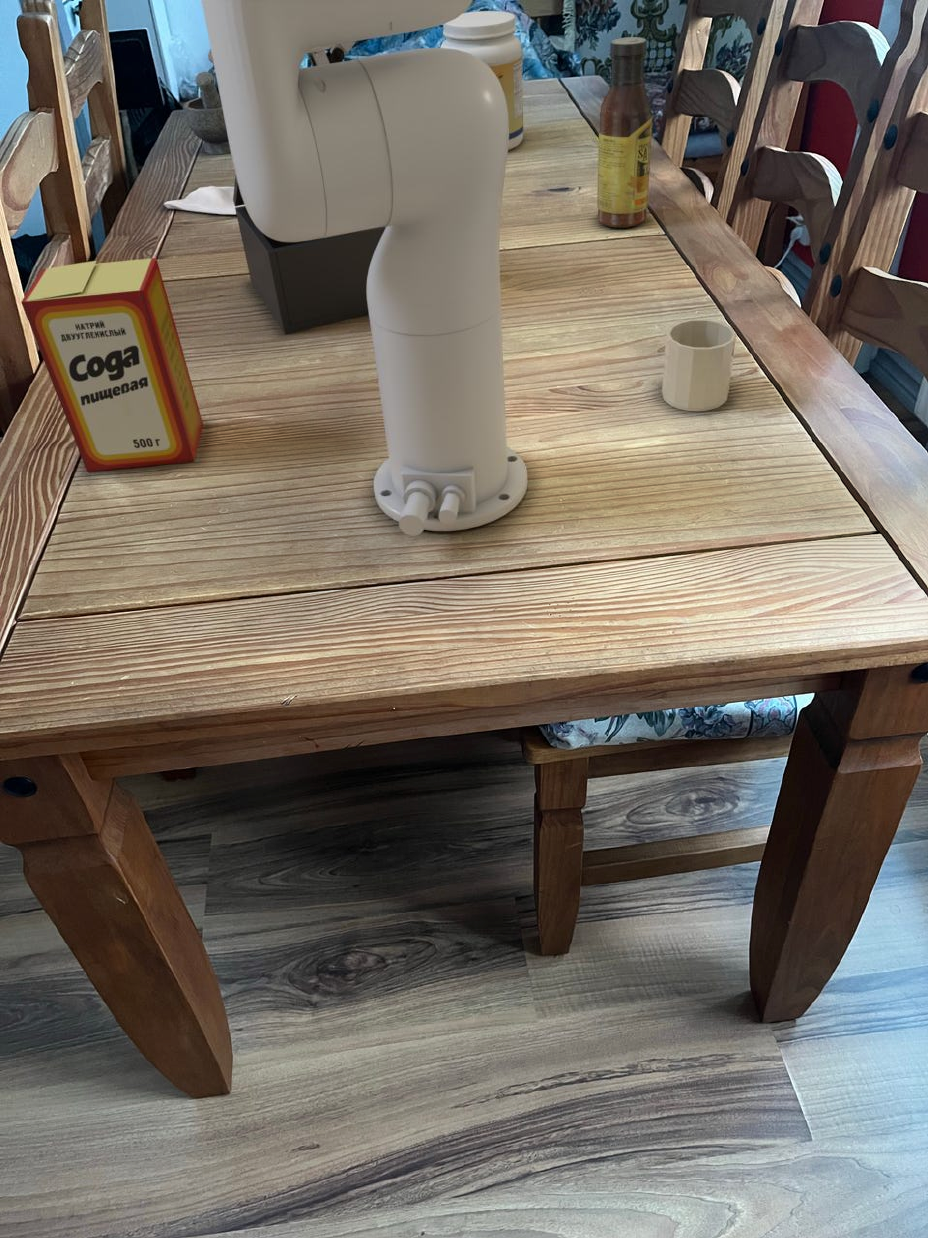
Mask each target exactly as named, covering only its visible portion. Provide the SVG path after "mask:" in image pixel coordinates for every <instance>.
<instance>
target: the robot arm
mask: <svg viewBox="0 0 928 1238" xmlns="http://www.w3.org/2000/svg"><path fill="white" fill-rule="evenodd" d="M473 1H474V0H201V5H202V10H203V15H204V20H205V25H206V30H207V31H206V32H207V35H208V42H209V47H210V49H209V51H208V55H207V57H208V58H207V59H208V61H210V63H212V64H213V67H214V72H215V77H216V82H217V88H218V94H220V98H221V103H222V108H223V114H224V119H225V124H226V129H227V135H228V140H229V145H230V150H231V153H230V154H231V159H232V164H233V169H234V173H235V175H236V178H237V182H238V185H239V189H240V192H241V196H242V198H243V201H244V204H245V207H246V209H247V212H248V214H249V216H250V218H251V219H252V221H253V222H254V224H255V225H256V227H257V228H258V229H259V230H260V231H261V232H262V233H263V234H265V235H266V236H268V237H270V238H272V239H274V240H277V241H281V242H301V241H308V240H314V239H319V238H326V237H332V236H337V235H342V234H347V233H352V232H357V231H362V230H367V229H372V228H377V227H386V228H385V230H384V233H383V235H382V237H381V238H380V241H379V243H378V245H377V247H376V250H375V252H374V255H373V258H372V261H371V263H370V267H369V272H368V277H367V288H366V292H367V304H368V311H369V314H368V317H369V318H368V319H369V325H370V333H371V339H372V346H373V353H374V362H375V369H376V375H377V382H378V383H377V384H378V389H379V396H380V404H381V413H382V418H383V425H384V432H385V439H386V446H387V454H388V458H386V459H385V460H384V461H383V462H382V463H381V465H379V467H378V469H377V470H376V472H375V475H374V477H373V491H374V497H375V501H376V503H377V505H378V507H379V508H380V510H382V512H383V513H384V514H385V515H386V516H388V517H389V518H391V519H392V520H394V521H395V522H398V528H399V530H400V531H401V533H403V534H405V535H407V536H409V537H410V536H411V537H415V536H419V535H421V534H422V533H423V532H424V530H425V531H430V532H431V531H432V532H454V531H464V530H469V529H472V528H473V529H474V528H477V527H481V526H483V525H487V524H490V523H492V522H495V521H497V520H498V519H500V518H502V517H504V516H505V515H507V514H508V513H510V512H511V511H512V510H514V509H515V508H516V507H517V506H518V505H519V504H520V502H521V501H522V500H523V498H524V496H525V495H526V493H527V489H528V470H527V469H528V468H527V467H526V463H525V461H524V460H523V459H522V458H521V456H520V455H519V454H518V453H517V452H515V451H514V450H513V449H512V448H510V447H508V442H507V440H508V439H507V416H506V397H505V396H506V393H505V373H504V372H505V371H504V349H503V326H502V325H503V324H502V293H501V270H500V269H501V268H500V267H501V266H500V265H501V263H500V261H501V260H500V259H501V258H500V257H501V256H500V255H501V254H500V244H501V243H500V241H501V239H500V238H501V236H500V233H501V215H502V202H503V195H504V194H503V192H504V186H505V178H506V170H507V162H508V155H509V154H508V153H509V150H508V143H509V118H508V109H507V103H506V99H505V95H504V92H503V89H502V87H501V84H500V82H499V80H498V78H497V77H496V75H495V74H494V72H493V71H492V70H491V68H490V67H489V66H488V65H487V64H485V63H484V62H483V61H481V60H480V59H479V58H477V57H475V56H473V55H471V54H469V53H466V52H463V51H460V50H456V49H447V48H440V47H426V48H415V49H408V50H402V51H395V52H388V53H382V54H376V55H370V56H369V55H368V56H363V57H357V58H353V59H351V60H345V56H346V55H347V54H348V53H349V52H350V51H351V49H352V48H353V47H354V45H355V44H356V43H357V42H359V41H365V40H370V39H377V38H384V37H388V36H389V37H391V36H395V35H401V34H406V33H411V32H412V33H413V32H416V31H421V30H427V29H430V28H431V29H432V28H435V27H438V26H441V25H444V24H445V23H447V22H449V21H452V20H454V19H456V18H457V17H459V16H460V15H461V14H463V13H466V12H467V10H468V8H469V7H470V6H471V4H472V3H473ZM326 50H327V52H326ZM305 56H307V57H308V59H309V62H310V64H311V66H307V67H301V66H302V63H303V61H304V58H305ZM344 60H345V61H344Z"/></svg>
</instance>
